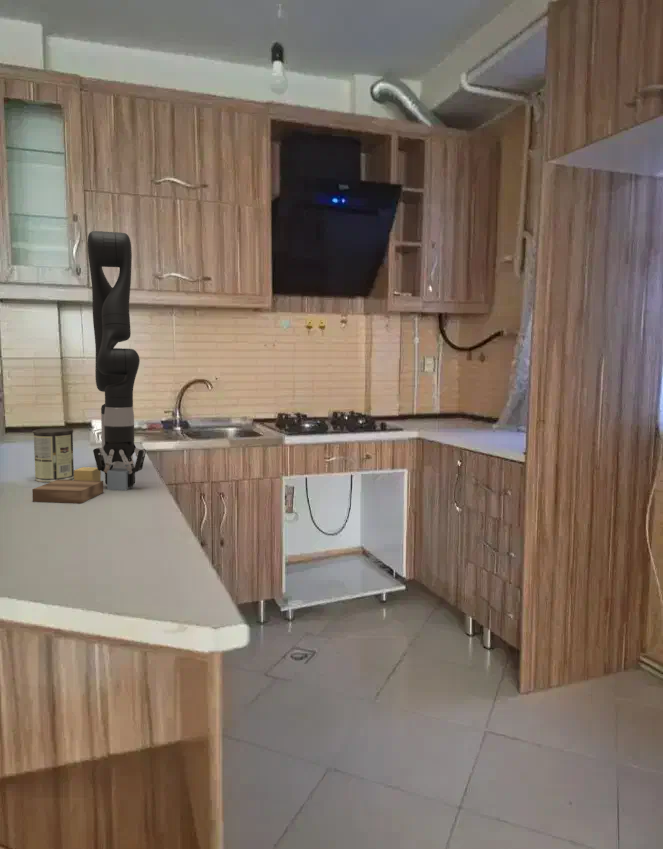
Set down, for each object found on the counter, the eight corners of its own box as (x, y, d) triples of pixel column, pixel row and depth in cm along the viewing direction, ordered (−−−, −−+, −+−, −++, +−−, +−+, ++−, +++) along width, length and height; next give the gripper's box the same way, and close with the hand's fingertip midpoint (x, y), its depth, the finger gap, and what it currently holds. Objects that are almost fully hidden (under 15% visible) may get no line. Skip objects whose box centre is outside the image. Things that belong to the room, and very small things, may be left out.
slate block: (115, 485, 165) (114, 467, 164) (133, 486, 164) (132, 468, 164) (107, 489, 160) (107, 471, 159) (125, 490, 159) (125, 471, 159)
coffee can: (47, 474, 178) (46, 427, 176) (80, 476, 177) (79, 428, 175) (26, 481, 168) (25, 431, 166) (61, 483, 167) (60, 432, 165)
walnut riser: (58, 490, 157) (58, 479, 157) (103, 492, 156) (102, 481, 156) (32, 501, 145) (32, 489, 145) (81, 503, 144) (81, 490, 144)
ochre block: (82, 485, 165) (82, 467, 165) (100, 485, 165) (100, 467, 164) (74, 488, 160) (73, 470, 160) (92, 489, 160) (92, 471, 159)
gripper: (150, 423, 164) (151, 484, 165) (99, 421, 164) (100, 483, 166) (140, 426, 156) (141, 490, 158) (86, 424, 157) (87, 488, 159)
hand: (120, 486), depth 162 cm, fingers closed on slate block, 5 cm apart
